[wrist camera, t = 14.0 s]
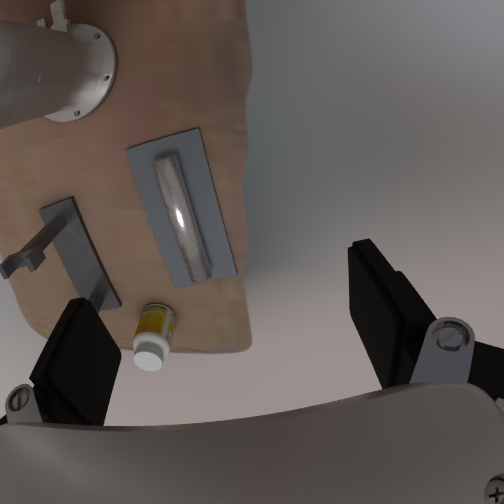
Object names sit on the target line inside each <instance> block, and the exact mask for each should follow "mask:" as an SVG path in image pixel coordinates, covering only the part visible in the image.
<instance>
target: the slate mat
mask: <svg viewBox="0 0 504 504" xmlns="http://www.w3.org/2000/svg"><path fill="white" fill-rule="evenodd" d="M126 153H127V156H128V159H129V162H130V165H131V169H132V172H133V175H134V178H135V181H136V184H137V187H138V190H139V193H140V196H141V199H142V202H143V205H144V208H145V210H146V213H147V216H148V219H149V222H150V224H151V227H152V230H153V233H154V235H155V238H156V241H157V244H158V246H159V249H160V251H161V254H162V257H163V259H164V262H165V264H166V267H167V269H168V272H169V275H170V277H171V280H172V282H173V284H174V287H175V288H176V287H181V286H187V285H192V284H197V283H193V282H192V281H191V280H190V277H189V274H188V272H187V269H186V266H185V264H184V261H183V258H182V255H181V253H180V250H179V247H178V244H177V241H176V238H175V236H174V233H173V230H172V227H171V224H170V221H169V218H168V215H167V212H166V209H165V206H164V203H163V200H162V197H161V194H160V191H159V188H158V184H157V181H156V178H155V175H154V172H153V168H152V165H151V161H153V160H154V159H157V158H159V157H162V156H165V155H168V154H176V155H177V159H178V162H179V166H180V169H181V173H182V176H183V180H184V183H185V186H186V190H187V193H188V197H189V200H190V203H191V207H192V210H193V213H194V216H195V220H196V223H197V226H198V229H199V233H200V236H201V239H202V242H203V245H204V249H205V252H206V255H207V258H208V261H209V264H210V267H211V270H212V276H211V278H209V279H208V280H207V281H212V280H217V279H222V278H227V277H232V276H237V270H236V267H235V263H234V259H233V256H232V252H231V248H230V245H229V241H228V237H227V233H226V230H225V226H224V222H223V218H222V215H221V211H220V207H219V203H218V200H217V196H216V192H215V188H214V184H213V180H212V177H211V173H210V169H209V165H208V161H207V157H206V153H205V149H204V145H203V141H202V137H201V133H200V129H199V128H197V129H193V130H189V131H185V132H182V133H178V134H174V135H171V136H167V137H164V138H160V139H157V140H154V141H150V142H147V143H144V144H141V145H138V146H134V147H131V148H128V149H126ZM207 281H204V282H207ZM201 283H202V282H201Z"/></svg>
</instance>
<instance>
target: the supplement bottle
mask: <svg viewBox="0 0 504 504" xmlns="http://www.w3.org/2000/svg"><path fill="white" fill-rule="evenodd" d="M175 322H176V318H175V314H174V313H173V311H172V310H171V309H170V308H168V307H167V306H165V305H162V304H150V305H148V306H146V307H145V308H144V310H143V312H142V314H141V317H140V320H139V324H138V327H137V330H136V333H135V337H134V340H133V347H134V350H135V353H134V358H133V359H134V362H135V364H136V365H137V366H138V367H139V368H141V369H143V370H147V371H156V370H159V369H160V368H161V367H162V364H163V360H164V359H165V358H166V357H167V356H168V355H169V353H170V349H171V344H172V338H173V333H174V327H175Z"/></svg>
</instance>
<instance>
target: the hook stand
mask: <svg viewBox="0 0 504 504" xmlns="http://www.w3.org/2000/svg"><path fill="white" fill-rule="evenodd" d="M39 212H40V214H41V217H42V219H43V222H44V224H45V227H44V228H43V229H42V230H40V231H39V232H38V233H37V234H36V235H35V236H34V237H33V238H32V239H31V240H30V241H29V242H28V243H27V244H26V245H25V246H24V247H23V249H22V250H21V251H20V252H18V253H15V254H12V255H9V256H8V257H7V258H6V259H5V260H4V261H3V262H2V263H1V265H0V273H1V274H2V276H3V278H4V279H7V278H9V277H10V276H11V274H12V273H13V272H14V271H15V270H16V269H17V268H20V267H24V266H28V268H29V270H30V272H32V271H35V270H36V269H37V268H38V267H39V266H40V264H41V263H42V262H43V261H44V260H45V258H46V257H45V255H44V253H43V250H44V249H45V248H46V247H47V246H48V245H49V244H50V243H51V242H53V244H54V246H55V248H56V250H57V252H58V254H59V256H60V258H61V261H62V263H63V265H64V267H65V268H66V270H67V272H68V274H69V276H70V278H71V280H72V282H73V284H74V286H75V288H76V289H77V291H78V293H79V295H80V297H84V298H86V299H87V300H89V301H90V302H91V303H92V304H93V306H94V308H95V310H96V312H97V313H99V311H102V310H108V309H113V308H119V307H121V305H122V303H121V301H120V299H119V297H118V295H117V293H116V291H115V289H114V287H113V285H112V283H111V281H110V279H109V277H108V275H107V273H106V271H105V269H104V267H103V265H102V263H101V260H100V258H99V256H98V254H97V252H96V250H95V247H94V245H93V243H92V241H91V238H90V236H89V234H88V231H87V229H86V227H85V224H84V222H83V219H82V217H81V214H80V212H79V209H78V207H77V204H76V202H75V199H74V196H72V197H70V198H67V199H64V200H62V201H59V202H56V203H54V204H51V205H48V206H46V207H43V208H41V209H40V210H39Z"/></svg>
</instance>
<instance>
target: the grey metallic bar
mask: <svg viewBox="0 0 504 504" xmlns="http://www.w3.org/2000/svg"><path fill="white" fill-rule="evenodd" d="M151 165H152V168H153V172H154V175H155V178H156V181H157V184H158V188H159V191H160V194H161V197H162V200H163V203H164V206H165V209H166V212H167V215H168V218H169V221H170V224H171V227H172V230H173V233H174V236H175V238H176V241H177V244H178V247H179V250H180V253H181V255H182V258H183V261H184V264H185V266H186V269H187V272H188V274H189V277H190V280H191V281H192V282H193V283H201V282H204V281H207V280H208V279H209V278H211V276H212V270H211V267H210V264H209V261H208V258H207V255H206V252H205V249H204V245H203V242H202V239H201V236H200V233H199V229H198V226H197V223H196V220H195V216H194V213H193V210H192V207H191V203H190V200H189V197H188V193H187V190H186V186H185V183H184V180H183V176H182V173H181V169H180V166H179V162H178V159H177V155H176V154H168V155H165V156H162V157H159V158H157V159H154V160H153V161H151Z"/></svg>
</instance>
